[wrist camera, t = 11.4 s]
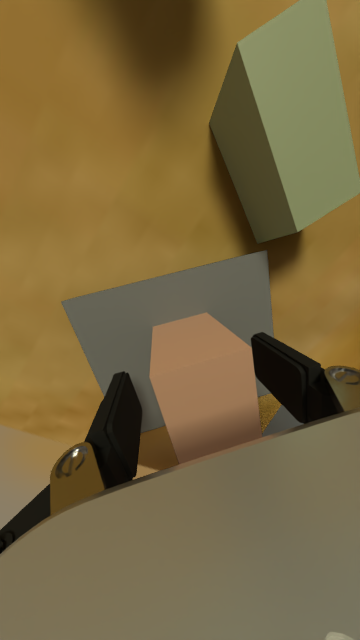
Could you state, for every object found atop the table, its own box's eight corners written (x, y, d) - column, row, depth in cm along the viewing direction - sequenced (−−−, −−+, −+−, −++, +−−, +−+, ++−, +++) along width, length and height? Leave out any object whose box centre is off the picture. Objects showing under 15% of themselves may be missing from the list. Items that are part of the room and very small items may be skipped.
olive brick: (208, 125, 11) (237, 42, 7) (262, 89, 11) (323, -16, 7) (256, 244, 13) (297, 232, 9) (301, 215, 13) (361, 191, 9)
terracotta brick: (152, 326, 12) (149, 376, 6) (206, 312, 12) (251, 347, 6) (178, 413, 14) (194, 507, 9) (223, 399, 14) (267, 482, 9)
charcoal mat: (72, 298, 12) (61, 301, 11) (254, 252, 13) (267, 250, 12) (126, 423, 16) (123, 438, 14) (267, 380, 16) (277, 390, 15)
